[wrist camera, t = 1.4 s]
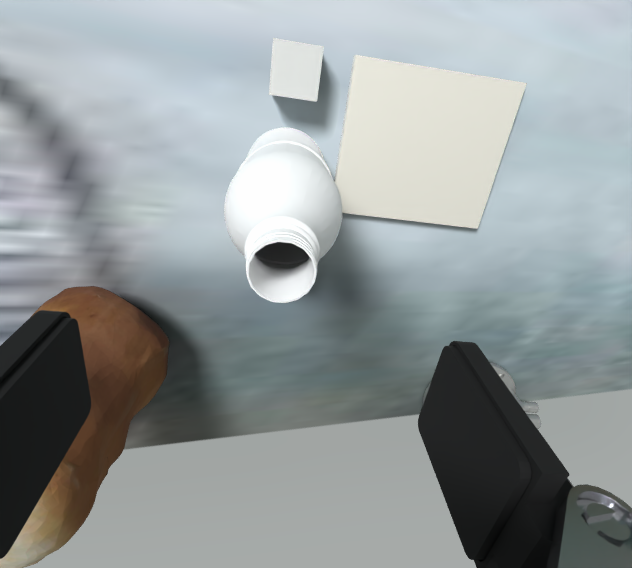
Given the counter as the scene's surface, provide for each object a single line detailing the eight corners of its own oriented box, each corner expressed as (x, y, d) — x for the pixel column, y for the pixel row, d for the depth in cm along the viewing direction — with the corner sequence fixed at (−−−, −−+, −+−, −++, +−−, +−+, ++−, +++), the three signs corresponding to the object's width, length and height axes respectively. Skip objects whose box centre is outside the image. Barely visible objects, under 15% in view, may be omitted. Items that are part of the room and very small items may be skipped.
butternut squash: (45, 338, 46) (-181, 576, 24) (78, 246, 41) (-169, 437, 19) (160, 381, 50) (56, 619, 28) (202, 301, 45) (117, 513, 23)
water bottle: (308, 208, 41) (331, 358, 19) (241, 186, 39) (178, 320, 17) (332, 139, 38) (394, 220, 16) (260, 112, 36) (216, 160, 14)
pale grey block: (320, 50, 34) (323, 46, 31) (314, 99, 36) (316, 101, 33) (274, 42, 34) (273, 38, 30) (271, 93, 36) (268, 94, 32)
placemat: (521, 83, 36) (526, 83, 36) (473, 225, 43) (477, 228, 42) (353, 55, 35) (355, 54, 34) (329, 208, 41) (330, 211, 40)
